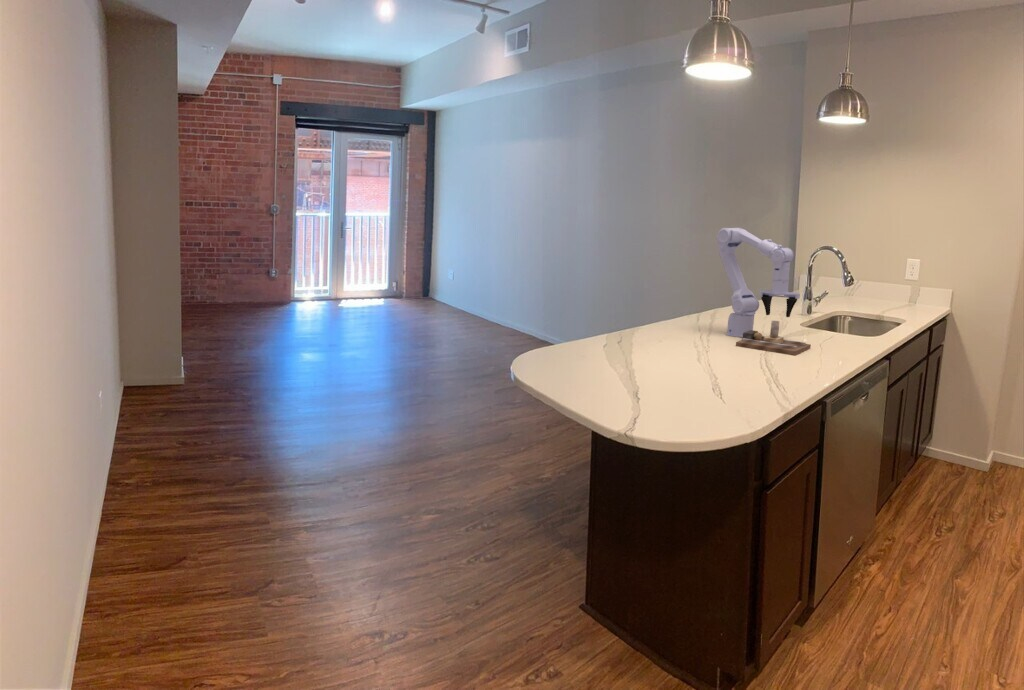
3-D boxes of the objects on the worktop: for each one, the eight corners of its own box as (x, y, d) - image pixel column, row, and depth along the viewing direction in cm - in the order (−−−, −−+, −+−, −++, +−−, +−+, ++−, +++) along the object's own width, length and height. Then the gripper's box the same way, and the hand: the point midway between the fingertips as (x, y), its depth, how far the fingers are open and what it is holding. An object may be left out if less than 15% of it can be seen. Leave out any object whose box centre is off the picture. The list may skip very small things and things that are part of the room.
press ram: (763, 342, 268) (765, 321, 266) (769, 340, 272) (771, 319, 270) (777, 344, 264) (779, 323, 263) (783, 342, 269) (785, 321, 267)
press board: (735, 345, 269) (736, 333, 268) (752, 339, 281) (753, 327, 280) (795, 355, 256) (796, 342, 255) (810, 348, 268) (811, 336, 267)
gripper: (757, 279, 273) (755, 315, 276) (796, 282, 264) (793, 319, 267) (764, 278, 279) (762, 313, 281) (802, 281, 270) (799, 316, 272)
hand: (777, 315), depth 275 cm, fingers open, 7 cm apart
